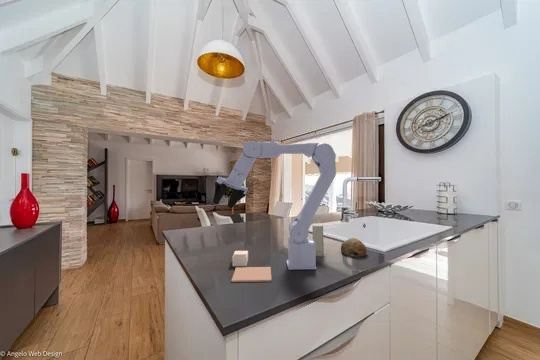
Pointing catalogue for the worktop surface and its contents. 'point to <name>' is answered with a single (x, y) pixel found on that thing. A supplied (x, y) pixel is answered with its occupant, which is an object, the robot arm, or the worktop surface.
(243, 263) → the card box
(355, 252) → the brown rounded lump
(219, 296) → the worktop surface
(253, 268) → the mat
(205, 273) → the worktop surface
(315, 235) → the skincare box
